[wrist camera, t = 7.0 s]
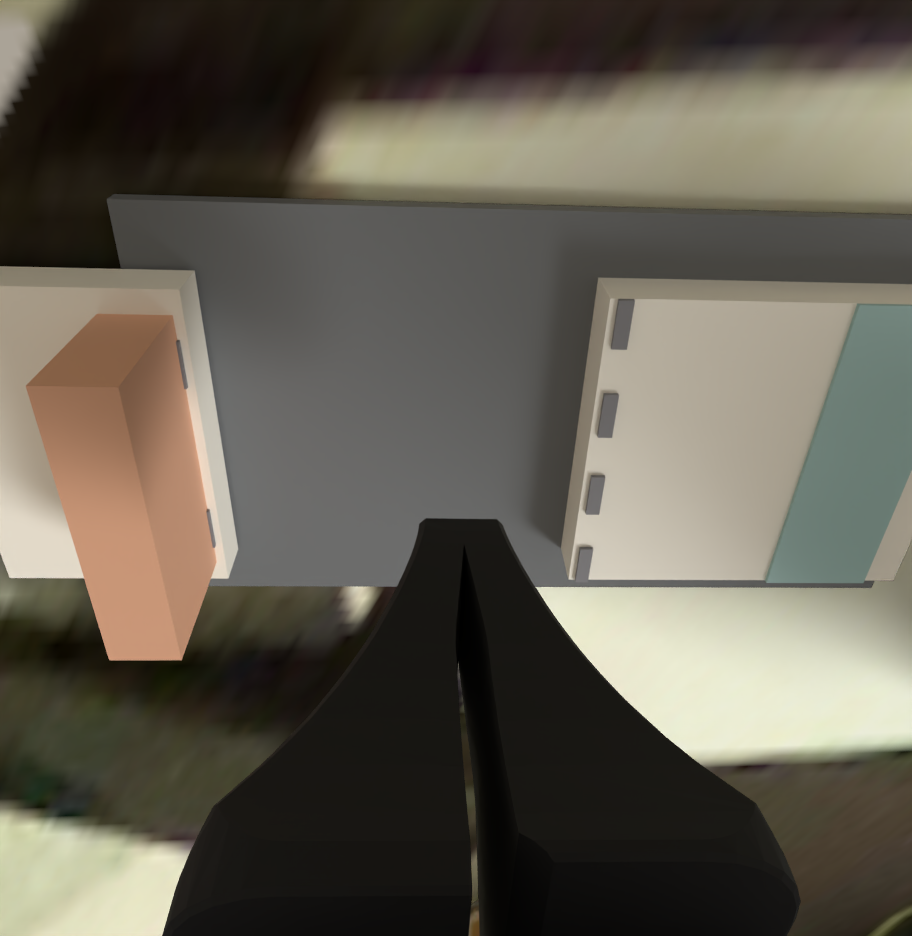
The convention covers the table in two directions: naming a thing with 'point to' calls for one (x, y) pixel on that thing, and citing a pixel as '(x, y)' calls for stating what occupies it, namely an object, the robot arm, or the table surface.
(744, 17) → the table surface
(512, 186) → the table surface
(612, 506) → the ticket
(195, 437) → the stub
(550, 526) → the mat
